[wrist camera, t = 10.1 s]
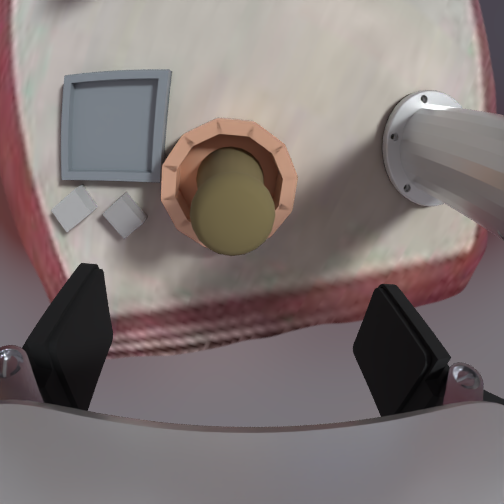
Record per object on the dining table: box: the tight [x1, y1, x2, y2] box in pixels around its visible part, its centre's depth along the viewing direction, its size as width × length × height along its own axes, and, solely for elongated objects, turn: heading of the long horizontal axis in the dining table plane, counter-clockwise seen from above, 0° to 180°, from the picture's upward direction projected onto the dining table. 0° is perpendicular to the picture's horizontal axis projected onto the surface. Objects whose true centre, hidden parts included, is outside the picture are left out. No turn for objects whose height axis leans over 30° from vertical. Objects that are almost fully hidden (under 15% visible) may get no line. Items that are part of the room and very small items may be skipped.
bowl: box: [161, 118, 298, 248], centre depth 27 cm, size 11×11×4 cm
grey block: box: [103, 192, 147, 239], centre depth 28 cm, size 3×3×2 cm
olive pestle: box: [190, 146, 275, 256], centre depth 23 cm, size 6×6×11 cm
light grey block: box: [51, 184, 98, 232], centre depth 27 cm, size 4×3×2 cm
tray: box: [61, 70, 172, 183], centre depth 24 cm, size 10×10×2 cm
